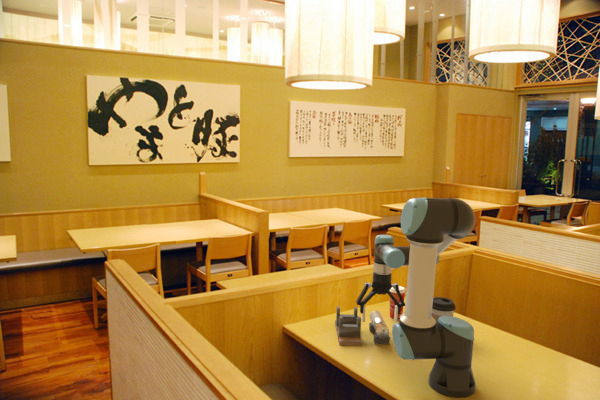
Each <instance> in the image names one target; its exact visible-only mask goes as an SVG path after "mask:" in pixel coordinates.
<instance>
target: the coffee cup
mask: <svg viewBox="0 0 600 400" xmlns="http://www.w3.org/2000/svg"><path fill="white" fill-rule="evenodd" d="M456 308H457V307H456V304H455V302H454V301H453V300H452V299H450V298H447V297H441V296H434V297H433V305H432V317H433V318H434V319H435V321H436V323H437V322H438V319H439V317H441V316H452V317H454V312H455V311H456Z"/></svg>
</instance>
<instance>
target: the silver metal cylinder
mask: <svg viewBox="0 0 600 400" xmlns="http://www.w3.org/2000/svg"><path fill="white" fill-rule="evenodd" d="M369 319H370V320H371V321H370V323H372V324H373V326H374V329H375V331H376V332H375V334H377V336H378V337H379V338H382V339H384V338H386V337H387V336H388V335H389V336H390V329H389V327H388V326H387V324H386V322H385V320H384V317H383V316H382V314H381V312H380V311H378V310H373V311H371V312H370V313H369Z"/></svg>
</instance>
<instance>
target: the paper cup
mask: <svg viewBox="0 0 600 400" xmlns="http://www.w3.org/2000/svg"><path fill="white" fill-rule="evenodd" d="M398 286H399V291H400V294H401V296H402V298H403V300H404V301H405V297H406V291H407V290H406V287H403V286H401V285H398ZM389 291H390V292H391V293H392V295H393V296H394V297H395V298H396V300H397V301H398V302H399V303H401V301H400V299H399V297H398V295H397V293H396V290H395V289H394V288H393V287H392V288H391V289H390V290H389ZM395 305H396V304H395V302H394V301H393V300H392V299H391V297H390V296H389V317H390V318H391V317H392V318H391V319H394V314H395ZM403 311H404V306H402V307H401V309H400V314H398V318H397V320H400V319H399V318H400V315H402V314H403V313H404V312H403Z"/></svg>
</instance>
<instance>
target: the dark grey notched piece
mask: <svg viewBox="0 0 600 400" xmlns="http://www.w3.org/2000/svg"><path fill="white" fill-rule="evenodd" d="M358 310H359V309H358V307H357V306H354V308H353V314H345V313H344V314H342V313H341V306H336V312H335V313H336V318H335V320H334V326H335V329H336V335H337V340H338V344H339V346H362V344H363V340H362V337H361V333H362V332H361V331H362V330H361V329H362V325H361V324H362V316H359V315H358V313H359V312H358Z"/></svg>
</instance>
